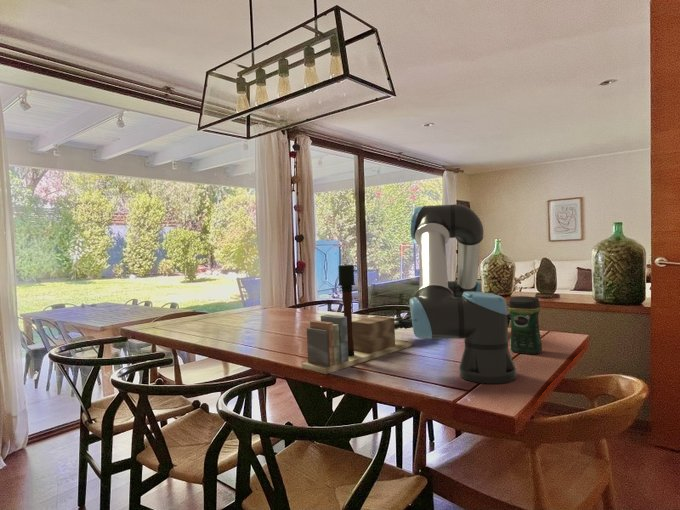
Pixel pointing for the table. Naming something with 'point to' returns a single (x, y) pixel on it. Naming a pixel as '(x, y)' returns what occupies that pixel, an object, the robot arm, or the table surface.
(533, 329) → the coffee jar
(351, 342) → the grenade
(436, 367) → the table surface
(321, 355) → the book rack
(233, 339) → the table surface
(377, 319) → the bookend
